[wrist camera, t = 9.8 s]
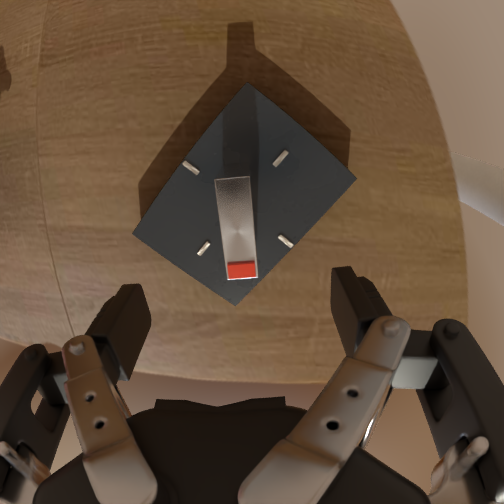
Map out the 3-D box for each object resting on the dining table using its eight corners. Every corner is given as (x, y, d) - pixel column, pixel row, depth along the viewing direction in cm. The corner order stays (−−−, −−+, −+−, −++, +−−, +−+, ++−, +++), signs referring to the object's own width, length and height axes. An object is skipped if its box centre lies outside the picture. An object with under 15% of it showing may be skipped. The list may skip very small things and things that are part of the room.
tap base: (247, 85, 22) (246, 81, 19) (347, 172, 25) (358, 179, 22) (140, 223, 26) (131, 234, 24) (236, 291, 29) (235, 307, 27)
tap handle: (222, 164, 22) (213, 180, 17) (249, 161, 22) (249, 176, 17) (231, 245, 25) (227, 282, 19) (256, 243, 25) (258, 279, 19)
